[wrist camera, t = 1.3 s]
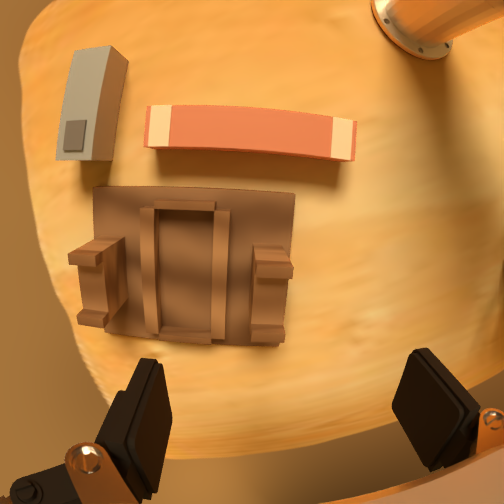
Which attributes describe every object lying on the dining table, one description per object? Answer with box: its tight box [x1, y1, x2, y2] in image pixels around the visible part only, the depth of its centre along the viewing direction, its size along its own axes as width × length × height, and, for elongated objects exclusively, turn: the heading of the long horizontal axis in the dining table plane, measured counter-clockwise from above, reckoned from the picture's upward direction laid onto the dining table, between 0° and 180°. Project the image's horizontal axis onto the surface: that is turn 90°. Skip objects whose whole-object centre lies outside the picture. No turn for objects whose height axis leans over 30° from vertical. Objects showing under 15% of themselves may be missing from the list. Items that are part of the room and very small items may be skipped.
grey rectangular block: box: [56, 45, 128, 161], centre depth 25 cm, size 12×4×6 cm, turn 173°
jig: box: [68, 186, 295, 346], centre depth 29 cm, size 18×22×9 cm
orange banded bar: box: [144, 105, 357, 162], centre depth 28 cm, size 4×20×5 cm, turn 86°
